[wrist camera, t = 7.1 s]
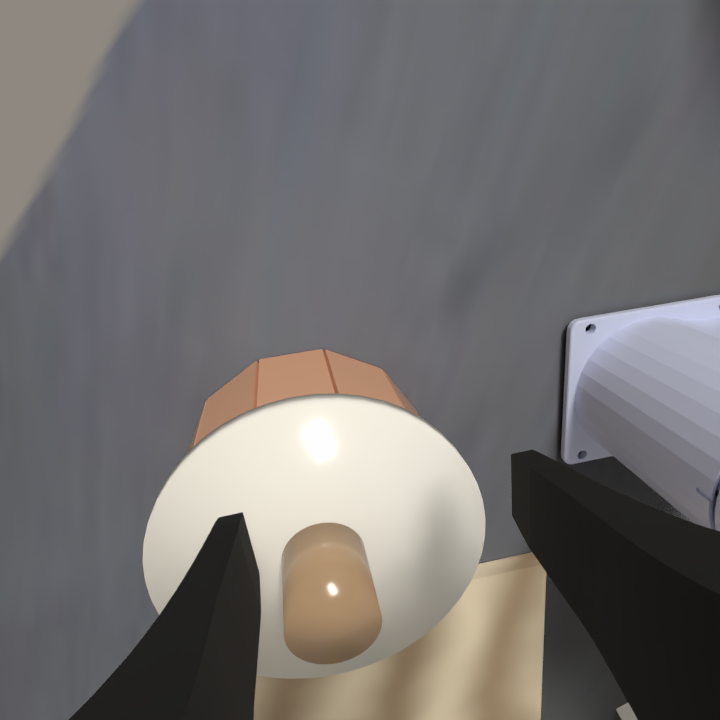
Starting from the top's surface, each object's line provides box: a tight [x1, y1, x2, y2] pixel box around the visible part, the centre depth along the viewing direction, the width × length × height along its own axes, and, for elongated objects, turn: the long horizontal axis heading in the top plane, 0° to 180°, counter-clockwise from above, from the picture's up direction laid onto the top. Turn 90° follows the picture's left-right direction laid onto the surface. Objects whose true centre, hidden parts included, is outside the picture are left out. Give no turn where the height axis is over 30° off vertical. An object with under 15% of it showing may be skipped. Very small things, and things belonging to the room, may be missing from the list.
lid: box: [143, 393, 485, 679], centre depth 18 cm, size 13×13×4 cm
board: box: [254, 552, 546, 720], centre depth 31 cm, size 18×18×1 cm
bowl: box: [188, 349, 419, 451], centre depth 22 cm, size 11×11×5 cm
